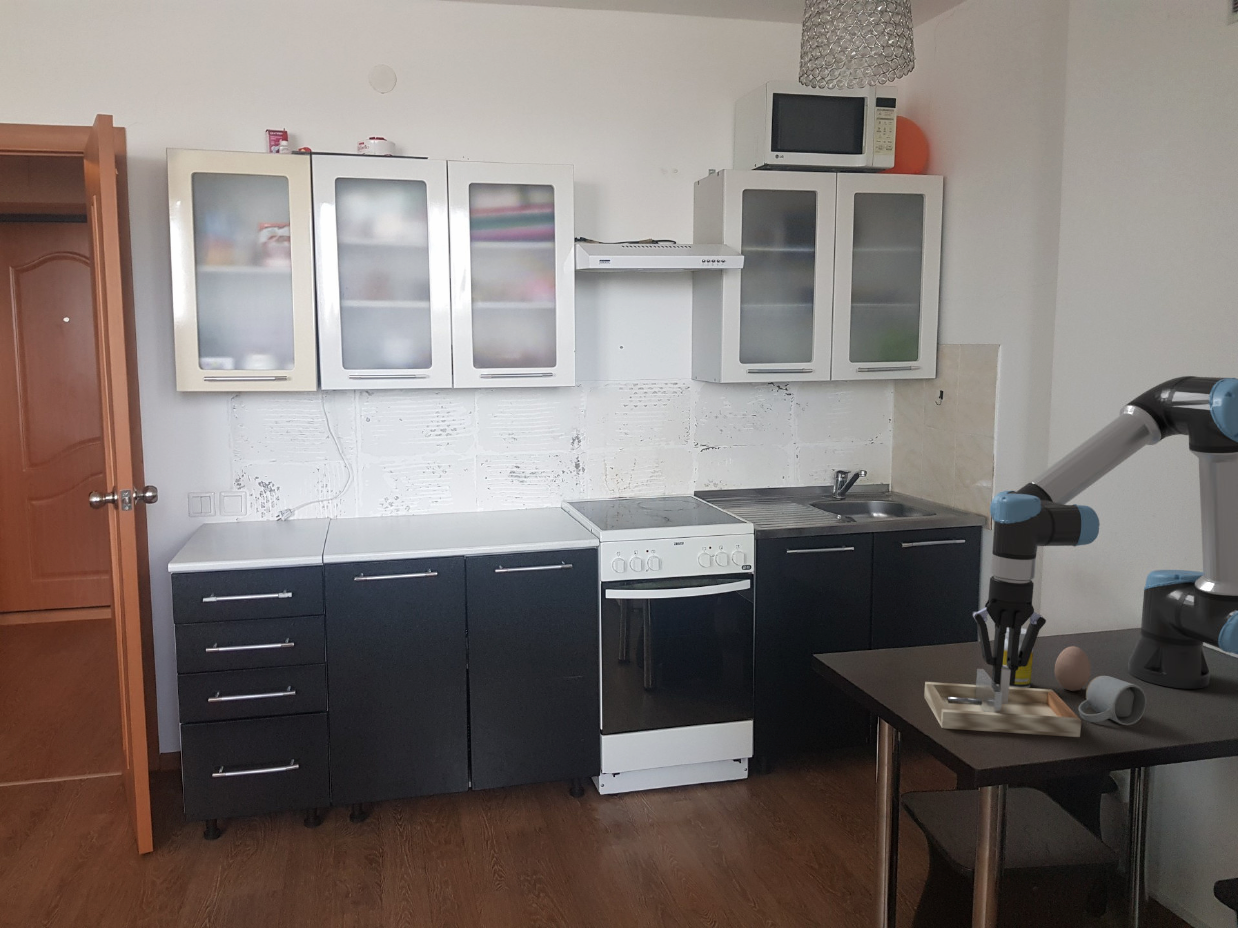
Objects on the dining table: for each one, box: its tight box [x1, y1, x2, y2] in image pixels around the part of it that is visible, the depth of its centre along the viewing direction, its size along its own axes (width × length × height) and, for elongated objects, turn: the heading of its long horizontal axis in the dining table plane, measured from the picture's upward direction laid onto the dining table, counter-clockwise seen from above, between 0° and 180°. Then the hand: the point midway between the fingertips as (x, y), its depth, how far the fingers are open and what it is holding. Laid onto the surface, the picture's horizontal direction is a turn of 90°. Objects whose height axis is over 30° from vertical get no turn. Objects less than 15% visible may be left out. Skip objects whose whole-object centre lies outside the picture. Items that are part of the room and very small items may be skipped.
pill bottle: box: [1003, 627, 1034, 688], centre depth 196 cm, size 6×6×12 cm
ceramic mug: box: [1078, 675, 1147, 726], centre depth 180 cm, size 11×8×8 cm
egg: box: [1054, 645, 1092, 692], centre depth 194 cm, size 7×7×9 cm
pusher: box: [947, 668, 1002, 713], centre depth 180 cm, size 8×12×6 cm, turn 174°
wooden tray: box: [923, 681, 1082, 738], centre depth 180 cm, size 24×15×3 cm, turn 84°
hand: (1001, 700), depth 180 cm, fingers closed
